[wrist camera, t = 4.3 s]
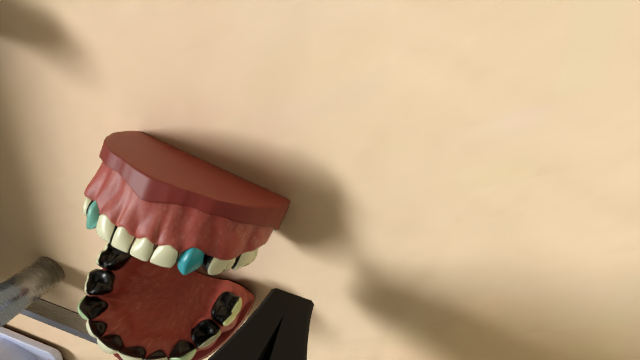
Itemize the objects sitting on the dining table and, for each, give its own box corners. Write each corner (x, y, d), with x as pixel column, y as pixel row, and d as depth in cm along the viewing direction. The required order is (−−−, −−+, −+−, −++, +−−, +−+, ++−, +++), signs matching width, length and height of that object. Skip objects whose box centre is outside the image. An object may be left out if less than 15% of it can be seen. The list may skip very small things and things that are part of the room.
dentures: (239, 262, 7) (185, 427, 12) (309, 169, 11) (248, 319, 16) (-7, 135, 7) (38, 343, 12) (147, 91, 11) (135, 259, 16)
